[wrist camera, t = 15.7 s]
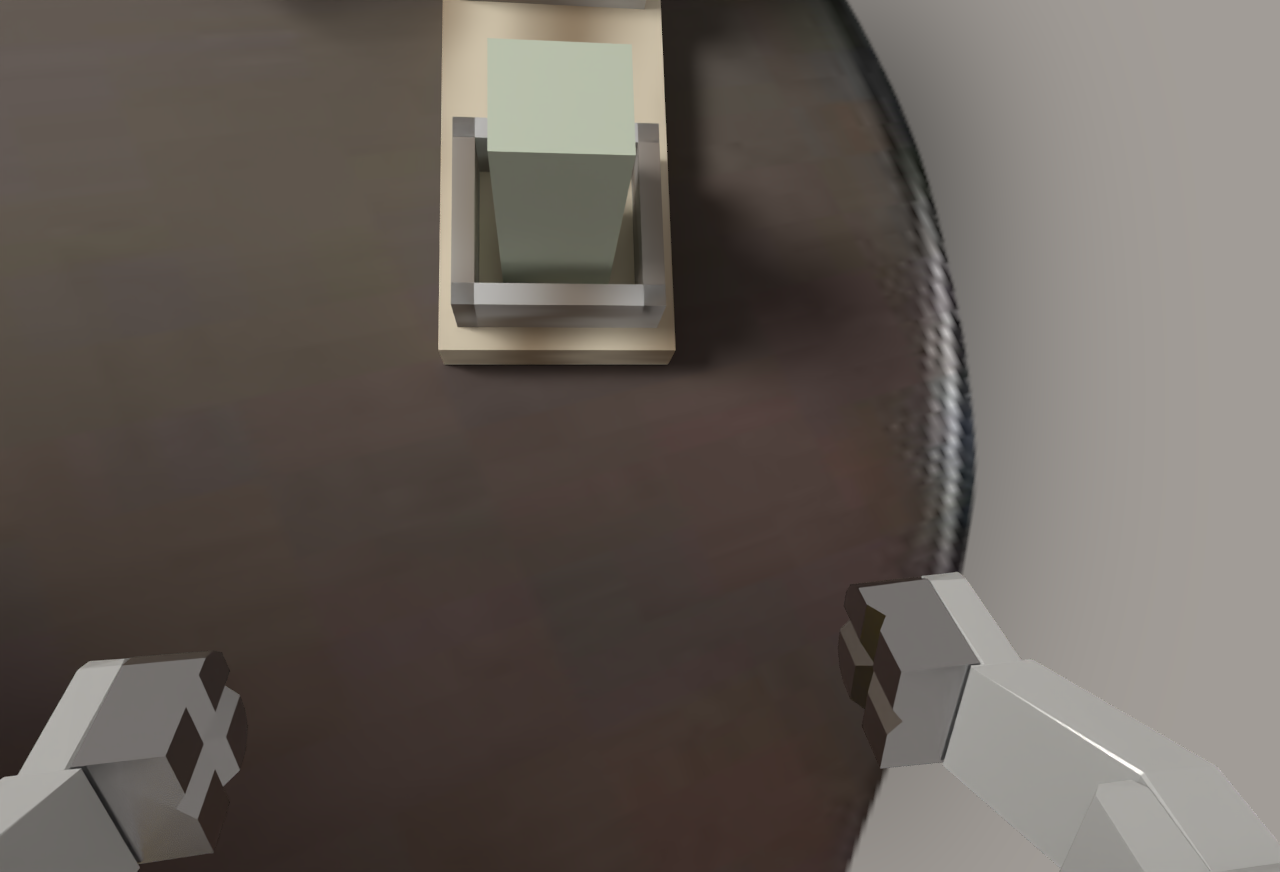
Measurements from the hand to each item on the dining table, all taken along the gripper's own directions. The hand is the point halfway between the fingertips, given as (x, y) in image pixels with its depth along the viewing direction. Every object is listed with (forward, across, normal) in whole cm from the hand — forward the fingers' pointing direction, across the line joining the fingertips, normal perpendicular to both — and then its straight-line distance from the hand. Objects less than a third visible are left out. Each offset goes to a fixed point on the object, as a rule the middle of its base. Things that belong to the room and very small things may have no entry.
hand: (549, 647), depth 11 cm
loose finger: (+24, -1, +3) cm, 24 cm away
